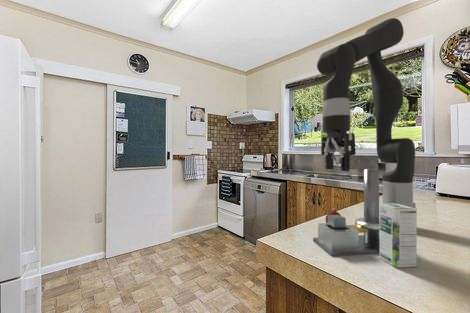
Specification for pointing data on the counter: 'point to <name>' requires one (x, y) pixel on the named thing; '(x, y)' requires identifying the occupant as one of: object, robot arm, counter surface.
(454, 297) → the counter surface
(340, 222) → the grey rectangular block
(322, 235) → the bracket stand
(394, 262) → the syrup box
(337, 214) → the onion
